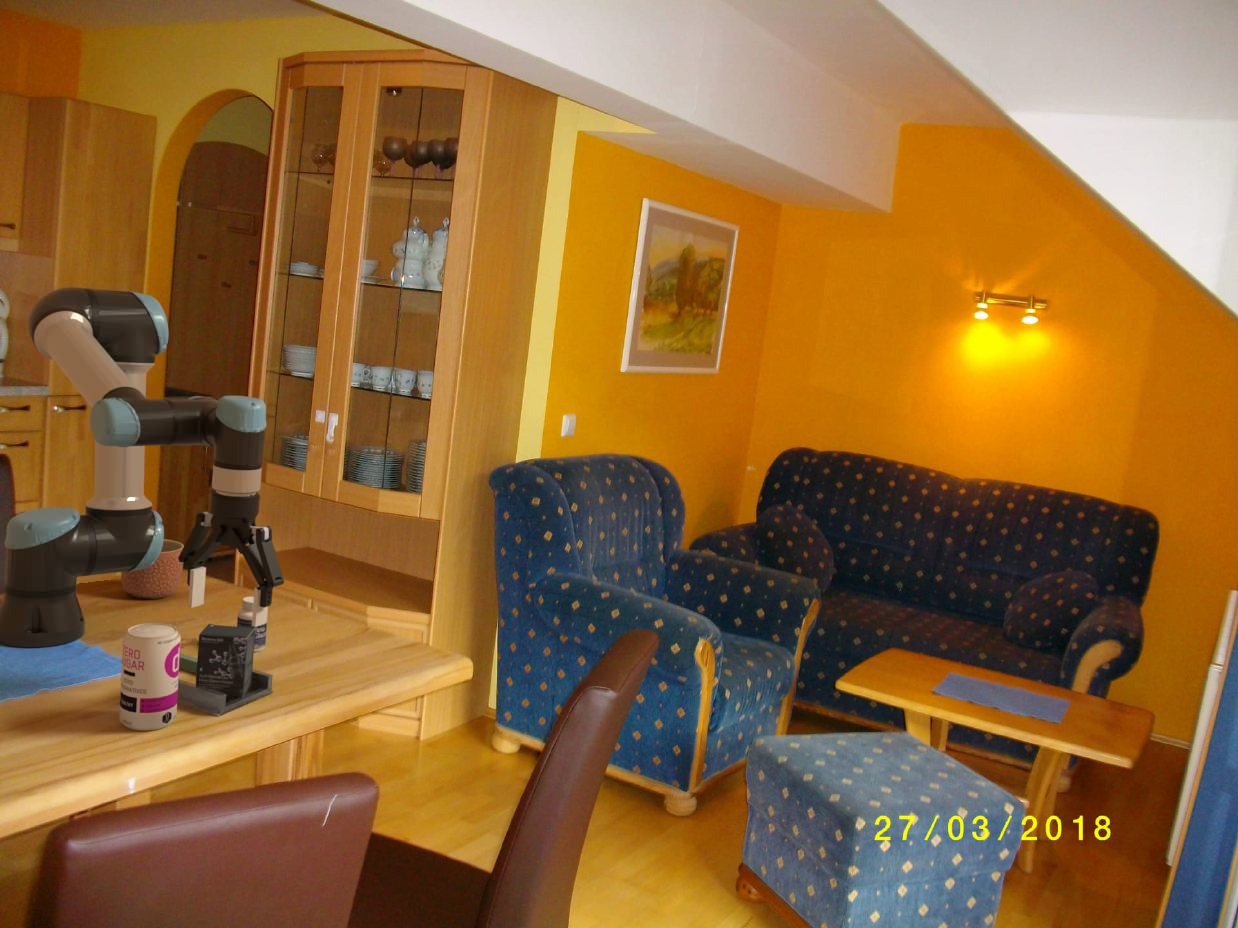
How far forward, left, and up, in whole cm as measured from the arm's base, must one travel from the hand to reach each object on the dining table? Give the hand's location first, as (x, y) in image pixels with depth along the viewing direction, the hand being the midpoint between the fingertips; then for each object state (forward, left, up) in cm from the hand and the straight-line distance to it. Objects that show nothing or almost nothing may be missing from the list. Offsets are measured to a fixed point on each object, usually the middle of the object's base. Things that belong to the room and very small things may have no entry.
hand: (227, 615), depth 174 cm
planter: (-51, +33, -15) cm, 62 cm away
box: (0, 0, -13) cm, 13 cm away
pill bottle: (-13, +21, -15) cm, 28 cm away
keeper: (0, 0, -14) cm, 14 cm away
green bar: (-14, +6, -14) cm, 21 cm away
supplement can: (-1, -14, -15) cm, 20 cm away
